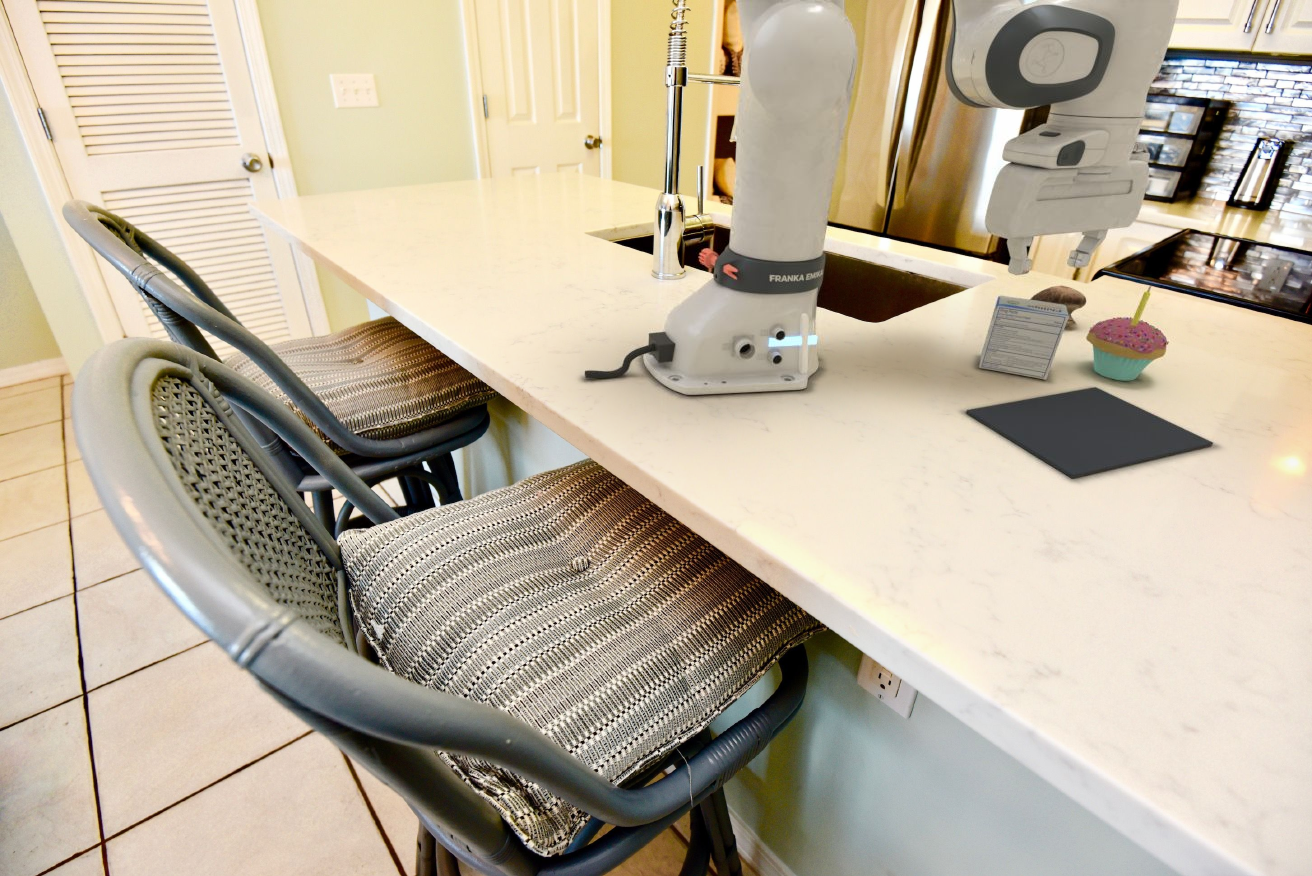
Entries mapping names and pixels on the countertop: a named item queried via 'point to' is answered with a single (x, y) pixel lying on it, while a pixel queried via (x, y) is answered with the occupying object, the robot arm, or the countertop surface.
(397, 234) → the countertop surface
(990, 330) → the medicine box
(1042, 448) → the cloth
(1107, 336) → the cupcake
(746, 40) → the robot arm
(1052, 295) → the mushroom
